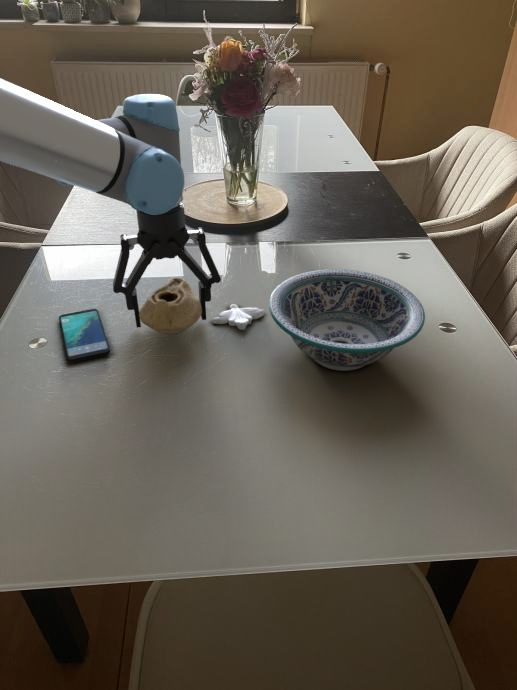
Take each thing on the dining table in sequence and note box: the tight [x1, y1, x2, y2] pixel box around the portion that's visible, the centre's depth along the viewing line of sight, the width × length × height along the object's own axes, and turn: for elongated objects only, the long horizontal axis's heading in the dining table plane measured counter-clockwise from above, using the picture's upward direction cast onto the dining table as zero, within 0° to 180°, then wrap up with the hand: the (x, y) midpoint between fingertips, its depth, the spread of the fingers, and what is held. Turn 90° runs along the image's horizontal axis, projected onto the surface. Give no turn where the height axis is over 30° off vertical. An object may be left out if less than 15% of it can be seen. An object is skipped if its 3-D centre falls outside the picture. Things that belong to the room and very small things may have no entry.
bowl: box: [268, 268, 426, 372], centre depth 90 cm, size 25×25×10 cm
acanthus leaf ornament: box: [212, 303, 265, 331], centre depth 100 cm, size 8×7×2 cm
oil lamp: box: [139, 277, 202, 335], centre depth 95 cm, size 11×15×8 cm
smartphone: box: [58, 308, 111, 363], centre depth 95 cm, size 7×1×15 cm
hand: (171, 319), depth 97 cm, fingers closed on oil lamp, 11 cm apart
